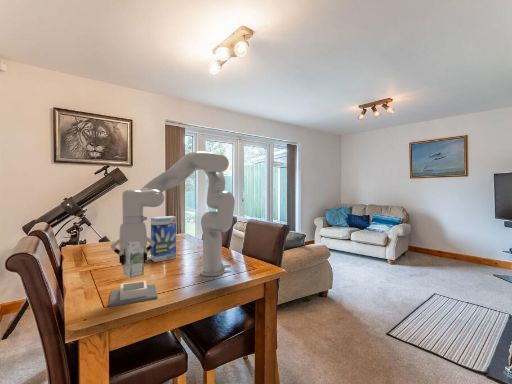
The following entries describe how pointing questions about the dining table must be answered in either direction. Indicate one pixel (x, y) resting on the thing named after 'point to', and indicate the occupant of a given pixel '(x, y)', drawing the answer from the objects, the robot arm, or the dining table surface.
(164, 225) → the string lights box
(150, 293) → the collar holder
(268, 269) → the dining table surface
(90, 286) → the dining table surface
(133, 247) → the syrup box
